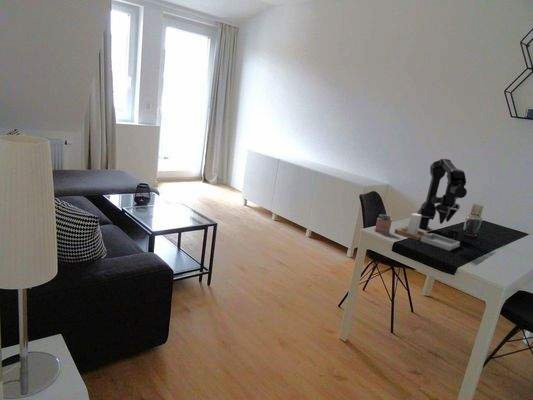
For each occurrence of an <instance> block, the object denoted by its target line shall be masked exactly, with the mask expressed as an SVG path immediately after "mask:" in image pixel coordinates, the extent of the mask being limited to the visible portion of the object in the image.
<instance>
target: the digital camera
mask: <svg viewBox="0 0 533 400" xmlns="http://www.w3.org/2000/svg"><path fill="white" fill-rule="evenodd" d="M446 235H447V236H448V238H449V239H452V240H455V241H459V242H460V243H461V242H463V241H464V239H465V235H466V229H465V228H464V229H463V228H461V227H456V228H449V229H448V230H447V234H446Z"/></svg>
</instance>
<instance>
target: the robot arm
mask: <svg viewBox="0 0 533 400" xmlns="http://www.w3.org/2000/svg"><path fill="white" fill-rule="evenodd" d="M429 170H430V171H429V174H430V176H431V178H430V179H431V180H430V184H429V187H428V190H427V191H428V192H427V195H426V199H425V201H424V202H423V203H422V204H421V205H420V206H421V207H420V208H419V209H418V210H417V212H416V213H417V214H421V215H422V217H421V221H420V225H419V228H420V229H423V230H428V229H430V226H429V225H430V224H429V223H430V220H432V221H433V220H434V219H435V217H436V213H437V212H438V216H439V224H441V225H443V223H444V221H445V222H449V221H451V219H452V218H453V217H454V215H456V213H457V212H458V211H459V210H460V207H461V205H460V204H459V203H457V202H456V201H457V200H458V199H463V198H464V197H466V196H467V193H468V191H467V188H466V187H465V186H466V185H467V178H466V174H465V172H464V170H462V169H459V168H457V167H456V166H455V165H454V164H453V163H452V160H451V159H446V158H440V159H439V160H436V161H434V162H432V163H431V165H430V167H429ZM446 173H447V174H446ZM445 175H446V179H447V182H446V184H447V185H446V189H445V193H444V194H442V196H440V197H438V196H437V194H438V190H439V187H440V182H441V180H442V178H444V176H445ZM435 204H436V205H435ZM436 211H437V212H436Z"/></svg>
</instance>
